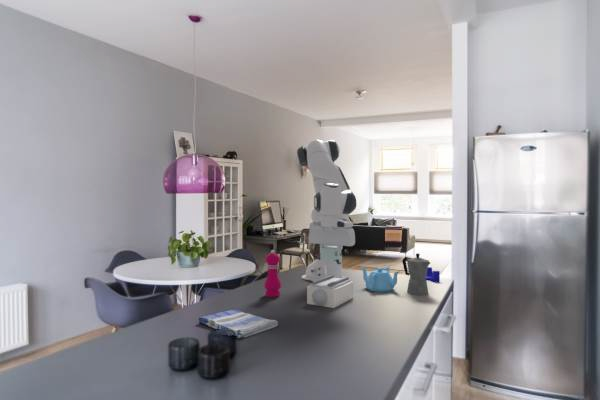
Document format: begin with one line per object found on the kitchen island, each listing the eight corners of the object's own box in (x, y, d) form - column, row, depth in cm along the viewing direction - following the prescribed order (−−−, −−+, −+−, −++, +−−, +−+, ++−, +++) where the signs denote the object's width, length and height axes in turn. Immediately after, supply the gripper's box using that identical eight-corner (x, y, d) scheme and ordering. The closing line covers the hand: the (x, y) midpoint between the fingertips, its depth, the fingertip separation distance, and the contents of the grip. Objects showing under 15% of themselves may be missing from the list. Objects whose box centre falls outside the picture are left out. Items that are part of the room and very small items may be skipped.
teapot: (368, 294, 181) (368, 271, 181) (359, 286, 196) (359, 265, 196) (400, 293, 183) (400, 270, 183) (389, 285, 198) (389, 264, 198)
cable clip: (422, 278, 216) (422, 267, 216) (430, 278, 217) (430, 267, 217) (430, 283, 204) (430, 271, 204) (439, 283, 205) (439, 271, 205)
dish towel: (239, 340, 124) (239, 331, 124) (196, 323, 140) (196, 315, 140) (280, 327, 137) (280, 318, 137) (236, 313, 153) (236, 306, 153)
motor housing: (306, 304, 164) (306, 281, 164) (331, 293, 182) (331, 273, 182) (332, 308, 157) (332, 285, 157) (355, 296, 176) (355, 276, 176)
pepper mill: (282, 293, 182) (282, 248, 181) (279, 297, 174) (279, 251, 174) (266, 293, 182) (266, 248, 182) (263, 297, 175) (263, 250, 175)
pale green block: (320, 260, 166) (320, 248, 166) (332, 257, 175) (332, 245, 175) (330, 261, 163) (330, 249, 163) (342, 258, 173) (342, 246, 173)
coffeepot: (436, 295, 179) (436, 254, 179) (422, 298, 174) (422, 256, 174) (409, 288, 192) (409, 250, 192) (395, 291, 187) (395, 252, 186)
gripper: (305, 221, 171) (305, 254, 172) (350, 223, 161) (350, 258, 161) (313, 220, 177) (313, 252, 177) (356, 222, 166) (356, 256, 166)
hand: (331, 255), depth 169 cm, fingers closed on pale green block, 4 cm apart
